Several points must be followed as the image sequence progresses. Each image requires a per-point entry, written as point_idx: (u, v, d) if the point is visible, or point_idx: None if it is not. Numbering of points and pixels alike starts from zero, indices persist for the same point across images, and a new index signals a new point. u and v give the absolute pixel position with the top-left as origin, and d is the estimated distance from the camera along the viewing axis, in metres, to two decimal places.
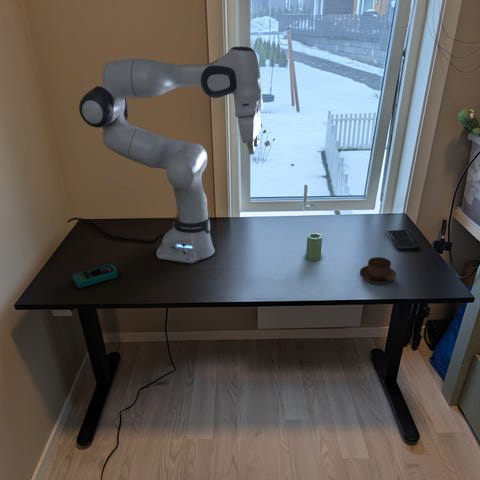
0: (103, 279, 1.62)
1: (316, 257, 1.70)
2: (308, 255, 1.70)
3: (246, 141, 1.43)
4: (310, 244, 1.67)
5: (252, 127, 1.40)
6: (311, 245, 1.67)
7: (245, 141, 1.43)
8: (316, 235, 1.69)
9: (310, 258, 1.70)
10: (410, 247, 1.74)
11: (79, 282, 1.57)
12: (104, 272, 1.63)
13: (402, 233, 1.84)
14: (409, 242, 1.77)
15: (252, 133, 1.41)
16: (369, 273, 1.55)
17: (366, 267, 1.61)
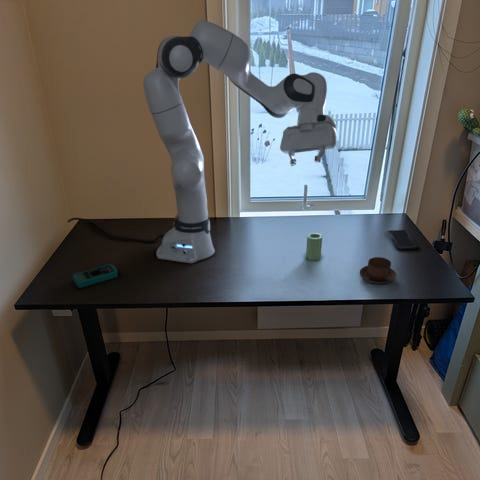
0: (103, 279, 1.62)
1: (316, 257, 1.70)
2: (308, 255, 1.70)
3: (332, 144, 1.53)
4: (310, 244, 1.67)
5: (336, 135, 1.55)
6: (311, 245, 1.67)
7: (332, 144, 1.53)
8: (316, 235, 1.69)
9: (310, 258, 1.70)
10: (410, 247, 1.74)
11: (79, 282, 1.57)
12: (104, 272, 1.63)
13: (402, 233, 1.84)
14: (409, 242, 1.77)
15: None
16: (369, 273, 1.55)
17: (366, 267, 1.61)
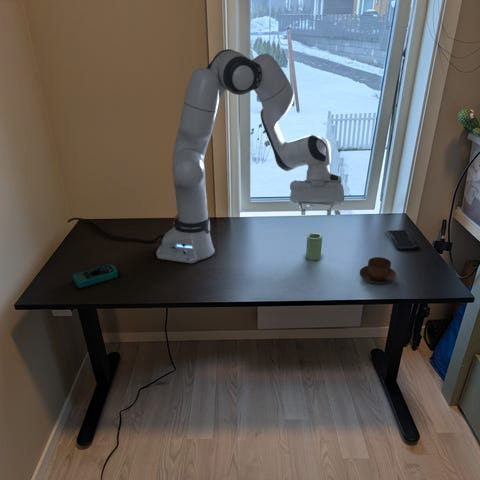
0: (103, 279, 1.62)
1: (316, 257, 1.70)
2: (308, 255, 1.70)
3: (343, 201, 1.72)
4: (310, 244, 1.67)
5: None
6: (311, 245, 1.67)
7: (343, 201, 1.72)
8: (316, 235, 1.69)
9: (310, 258, 1.70)
10: (410, 247, 1.74)
11: (79, 282, 1.57)
12: (104, 272, 1.63)
13: (402, 233, 1.84)
14: (409, 242, 1.77)
15: None
16: (369, 273, 1.55)
17: (366, 267, 1.61)
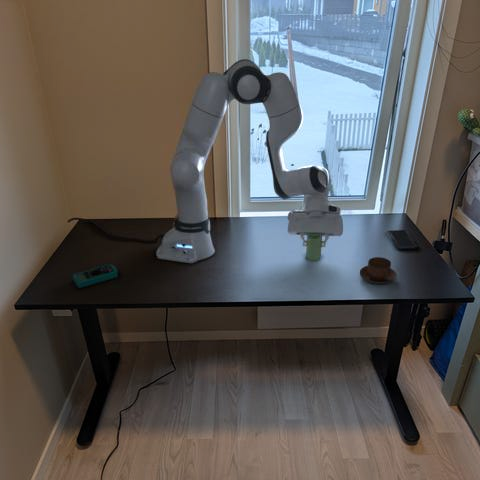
0: (103, 279, 1.62)
1: (316, 257, 1.70)
2: (308, 255, 1.70)
3: (342, 233, 1.68)
4: (310, 244, 1.67)
5: None
6: (311, 245, 1.67)
7: (342, 232, 1.68)
8: (316, 235, 1.69)
9: (310, 258, 1.70)
10: (410, 247, 1.74)
11: (79, 282, 1.57)
12: (104, 272, 1.63)
13: (402, 233, 1.84)
14: (409, 242, 1.77)
15: None
16: (369, 273, 1.55)
17: (366, 267, 1.61)
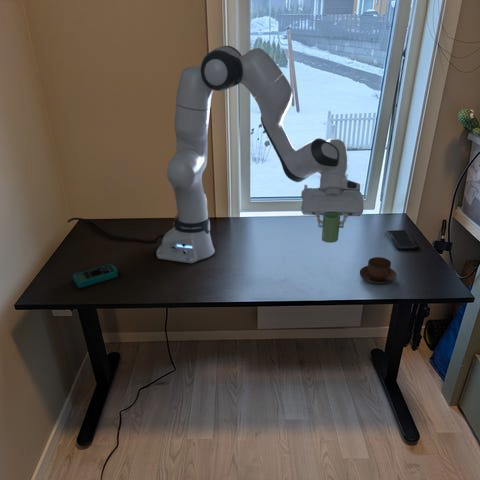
0: (103, 279, 1.62)
1: (333, 239, 1.52)
2: (324, 237, 1.53)
3: (362, 212, 1.51)
4: (327, 224, 1.50)
5: None
6: (328, 226, 1.50)
7: (362, 212, 1.51)
8: (333, 215, 1.52)
9: (326, 240, 1.53)
10: (410, 247, 1.74)
11: (79, 282, 1.57)
12: (104, 272, 1.63)
13: (402, 233, 1.84)
14: (409, 242, 1.77)
15: None
16: (369, 273, 1.55)
17: (366, 267, 1.61)
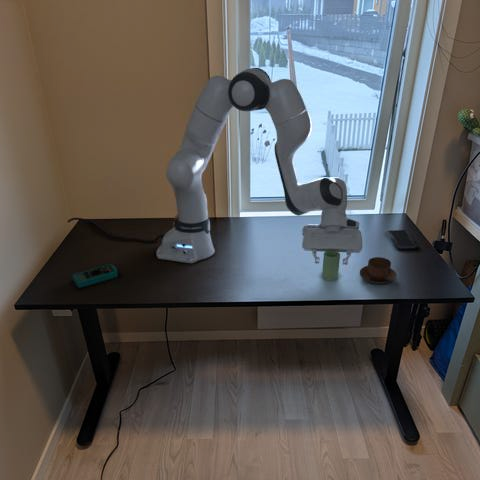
0: (103, 279, 1.62)
1: (333, 277, 1.58)
2: (324, 274, 1.58)
3: (361, 249, 1.56)
4: (327, 263, 1.55)
5: None
6: (328, 264, 1.55)
7: (361, 249, 1.56)
8: (333, 253, 1.57)
9: (327, 278, 1.58)
10: (410, 247, 1.74)
11: (79, 282, 1.58)
12: (104, 272, 1.63)
13: (402, 233, 1.84)
14: (409, 242, 1.77)
15: None
16: (369, 273, 1.55)
17: (366, 267, 1.61)
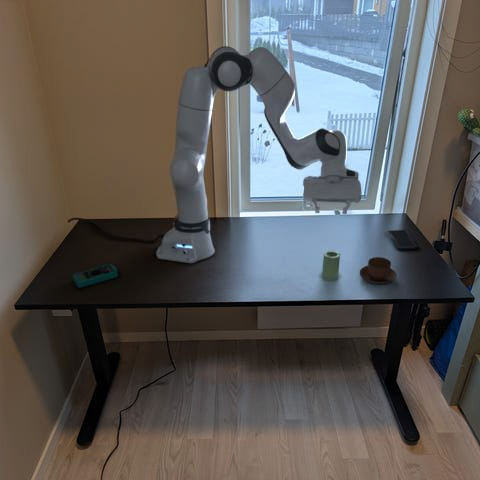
0: (103, 279, 1.62)
1: (333, 277, 1.58)
2: (324, 274, 1.58)
3: (360, 199, 1.60)
4: (327, 263, 1.55)
5: None
6: (328, 264, 1.55)
7: (360, 198, 1.60)
8: (333, 253, 1.57)
9: (327, 278, 1.58)
10: (410, 247, 1.74)
11: (79, 282, 1.58)
12: (104, 272, 1.63)
13: (402, 233, 1.84)
14: (409, 242, 1.77)
15: None
16: (369, 273, 1.55)
17: (366, 267, 1.61)
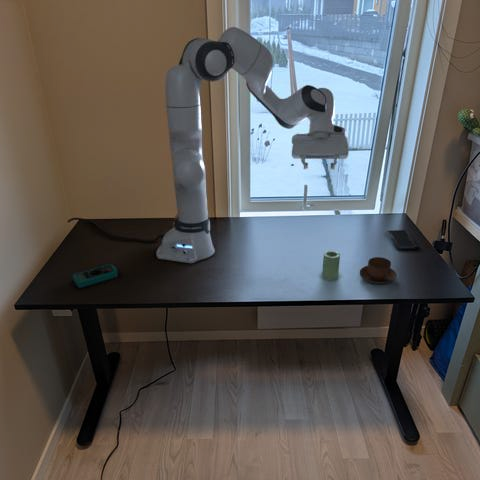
0: (103, 279, 1.62)
1: (333, 277, 1.58)
2: (324, 274, 1.58)
3: (347, 155, 1.64)
4: (327, 263, 1.55)
5: None
6: (328, 264, 1.55)
7: (347, 154, 1.64)
8: (333, 253, 1.57)
9: (327, 278, 1.58)
10: (410, 247, 1.74)
11: (79, 282, 1.58)
12: (104, 272, 1.63)
13: (402, 233, 1.84)
14: (409, 242, 1.77)
15: None
16: (369, 273, 1.55)
17: (366, 267, 1.61)
